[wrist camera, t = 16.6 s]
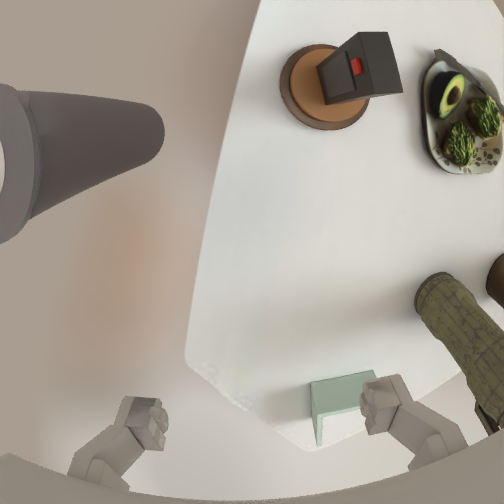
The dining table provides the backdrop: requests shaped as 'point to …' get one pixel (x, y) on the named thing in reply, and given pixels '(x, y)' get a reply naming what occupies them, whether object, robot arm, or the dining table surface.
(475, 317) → the thermos
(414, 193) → the dining table surface
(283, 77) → the swivel stand
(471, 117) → the salad plate
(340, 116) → the slab on wooden base
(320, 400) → the right angle wall
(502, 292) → the pillar candle
